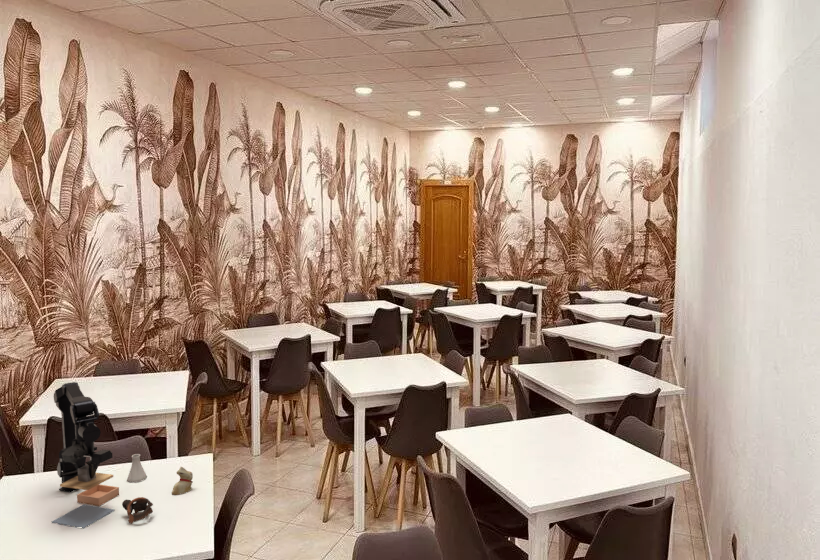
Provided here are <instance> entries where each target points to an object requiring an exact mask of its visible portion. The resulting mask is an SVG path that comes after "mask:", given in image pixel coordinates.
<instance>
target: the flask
mask: <svg viewBox="0 0 820 560" xmlns="http://www.w3.org/2000/svg"><path fill="white" fill-rule="evenodd" d="M131 458H132V461H131V466H130V469H129V473H128V475H127V479H126V481H127V482H129V483H140V482H142V481H144V480H146V479H147V477H148V476H147V473H146V471H145V470H144V467H143V465H142V462H141V459H140V458H141V454H140V453H135V454H132V455H131Z"/></svg>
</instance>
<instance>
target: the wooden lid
mask: <svg viewBox="0 0 820 560" xmlns="http://www.w3.org/2000/svg"><path fill="white" fill-rule="evenodd" d="M112 478H114V474H109V473H103V472H102V473H101V472H96V473H95V475H94V477H93V478H92V479H91V478H90V474H89V465H88V464H85V465H84V466H82V467H80V468H78V476H76V477H74V478H72V479H70V480H68V481H66V482H64V483H62V482H61V483H60V484H59V488H62V487H68V488H75V489H77V490H83V491H85V490H89V489H91V488H93V487H95V486H97V485H99V484H101V485H102V483H104V482H106V481H108V480H110V479H112Z"/></svg>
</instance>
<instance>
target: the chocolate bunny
mask: <svg viewBox="0 0 820 560" xmlns="http://www.w3.org/2000/svg"><path fill="white" fill-rule="evenodd" d="M176 475H178V476H179V480H178V481H177V482H176V483H175V484H174V486H173V488H172V491H171V495H172V496H178V495H183V494H186V492H187V493H189V492H190V491H191V490H192V485H193V482H194V481H192V480H193V477H194V475H193V472H192V471H188V470H187V469H186V468H185V467H183V466H180V467H179V470H177V471H176ZM188 491H189V492H188Z"/></svg>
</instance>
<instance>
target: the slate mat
mask: <svg viewBox="0 0 820 560" xmlns="http://www.w3.org/2000/svg"><path fill="white" fill-rule="evenodd" d="M114 511H115V509H114V508H113V509H112V508H108V507H103V506H94V505H89V504H83V503H82V504H81V505H80V506H77V507H76V508H73V509H72V510H70V511H68V512H67V513H65V514H63V515H61V516H59V517H58V518H56V519H53V520H52V521H51V522H52V523H51V524H56V523H58V524H57V525H61V524H64V525H63V526H66V525H70V526H69V527H72V526H75V527H74V528H77V527H82V528H84V529H86V528H87V527H89V526H91V525H93V524H94V523H95V522H97V520H98V521H99V520H101V519H103V518H105V517H106V516H108V515H109V514H111V513H112V512H114ZM90 524H91V525H90ZM88 525H89V526H88ZM86 526H87V527H86ZM85 527H86V528H85ZM82 528H81V529H82Z"/></svg>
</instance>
